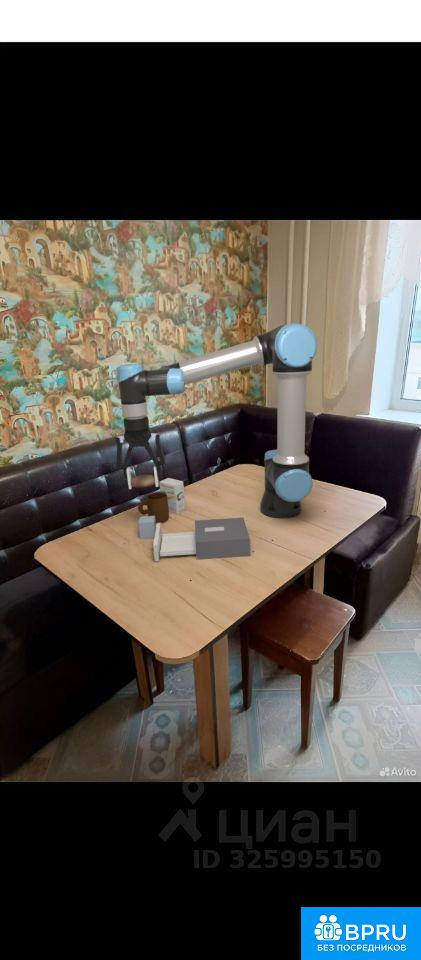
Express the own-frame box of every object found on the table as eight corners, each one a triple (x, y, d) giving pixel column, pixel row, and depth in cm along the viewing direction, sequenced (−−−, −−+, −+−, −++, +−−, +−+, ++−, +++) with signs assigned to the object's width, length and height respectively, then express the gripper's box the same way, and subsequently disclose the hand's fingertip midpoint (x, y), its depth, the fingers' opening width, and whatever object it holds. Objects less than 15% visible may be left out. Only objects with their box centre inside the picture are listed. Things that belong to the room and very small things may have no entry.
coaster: (156, 478, 135) (156, 473, 134) (155, 486, 127) (154, 481, 127) (132, 480, 135) (132, 475, 134) (129, 488, 127) (128, 483, 127)
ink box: (161, 509, 158) (158, 481, 154) (169, 505, 161) (167, 477, 158) (177, 514, 153) (174, 485, 149) (186, 509, 156) (183, 481, 152)
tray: (206, 534, 135) (205, 519, 133) (208, 557, 121) (207, 541, 119) (157, 538, 134) (155, 523, 133) (153, 561, 120) (151, 545, 118)
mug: (146, 530, 141) (144, 505, 138) (134, 524, 146) (131, 500, 143) (173, 519, 149) (171, 495, 146) (161, 513, 154) (158, 490, 151)
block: (156, 531, 140) (154, 515, 138) (155, 538, 135) (153, 522, 133) (142, 532, 140) (140, 516, 138) (140, 539, 135) (138, 523, 133)
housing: (243, 533, 135) (243, 516, 133) (250, 555, 121) (249, 537, 119) (195, 536, 135) (194, 520, 133) (196, 559, 121) (195, 541, 119)
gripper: (169, 412, 128) (176, 480, 135) (103, 416, 127) (114, 484, 135) (168, 416, 121) (175, 488, 128) (98, 421, 120) (109, 493, 128)
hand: (144, 486), depth 131 cm, fingers closed on coaster, 8 cm apart
